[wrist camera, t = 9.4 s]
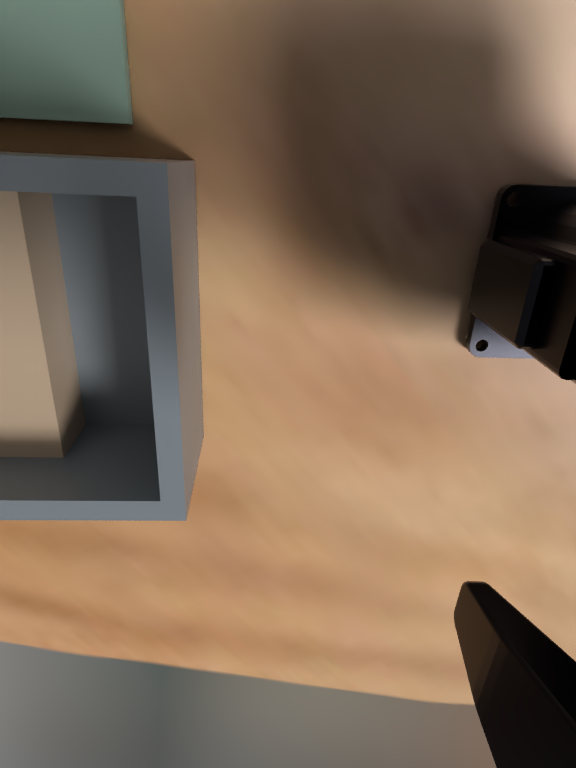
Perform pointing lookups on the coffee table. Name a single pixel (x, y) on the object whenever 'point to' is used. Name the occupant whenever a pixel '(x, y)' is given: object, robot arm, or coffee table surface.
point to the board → (64, 61)
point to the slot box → (98, 337)
